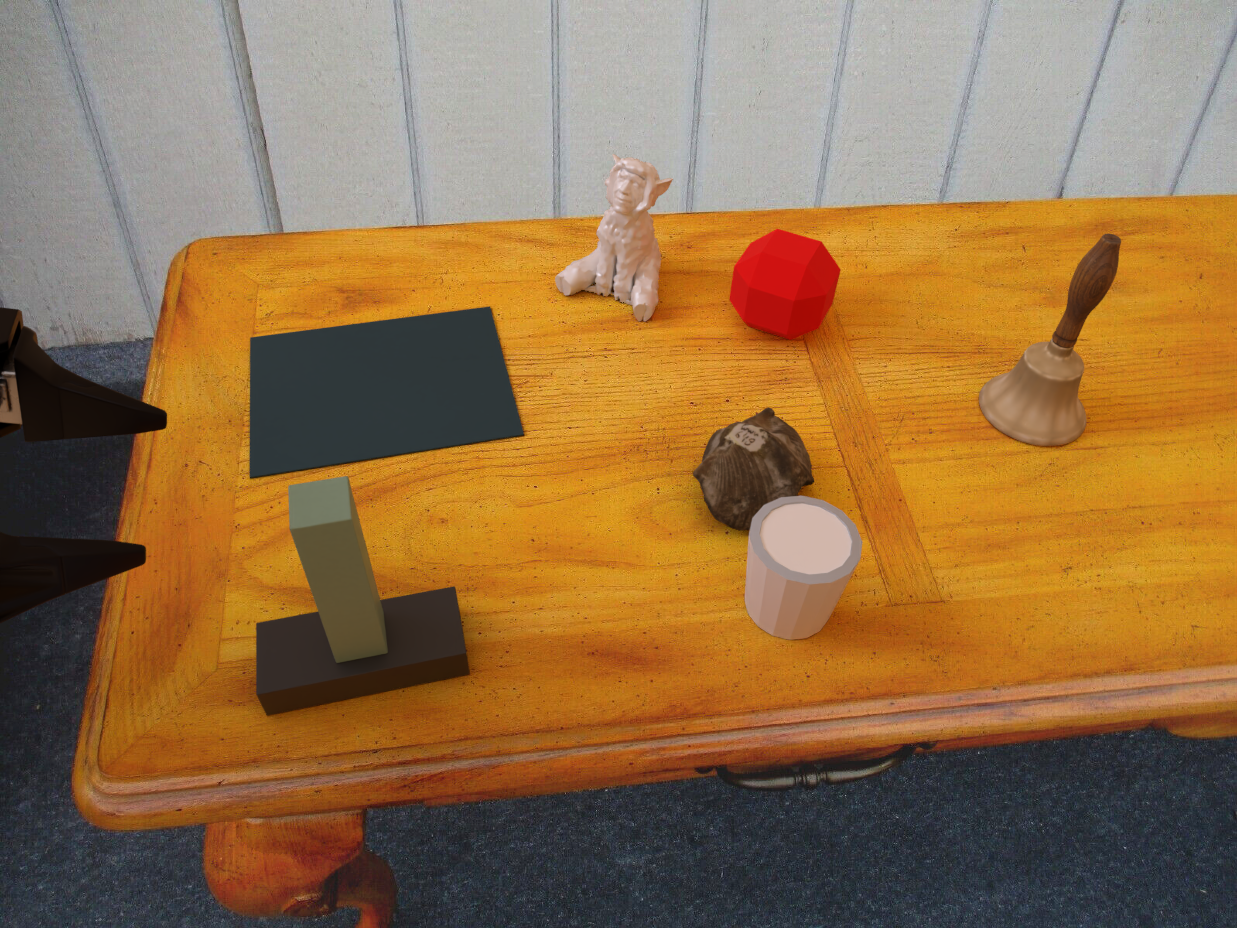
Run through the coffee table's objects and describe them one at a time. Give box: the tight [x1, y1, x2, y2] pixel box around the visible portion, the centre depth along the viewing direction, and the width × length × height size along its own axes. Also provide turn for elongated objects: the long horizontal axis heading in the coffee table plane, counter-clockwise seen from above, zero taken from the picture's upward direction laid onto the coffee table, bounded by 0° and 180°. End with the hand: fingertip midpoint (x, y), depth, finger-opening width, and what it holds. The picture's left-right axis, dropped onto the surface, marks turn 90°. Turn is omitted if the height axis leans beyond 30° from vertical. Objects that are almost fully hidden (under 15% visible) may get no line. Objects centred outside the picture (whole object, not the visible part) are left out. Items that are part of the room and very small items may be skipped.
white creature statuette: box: [554, 153, 674, 323], centre depth 81 cm, size 10×9×12 cm
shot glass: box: [744, 495, 863, 641], centre depth 60 cm, size 7×7×7 cm
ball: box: [728, 228, 842, 341], centre depth 80 cm, size 8×8×8 cm
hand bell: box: [978, 233, 1122, 447], centre depth 70 cm, size 8×8×16 cm
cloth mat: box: [249, 305, 525, 479], centre depth 76 cm, size 20×16×1 cm
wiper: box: [255, 475, 471, 716], centre depth 53 cm, size 12×5×15 cm, turn 104°
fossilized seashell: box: [692, 407, 815, 531], centre depth 68 cm, size 8×7×10 cm
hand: (156, 483), depth 48 cm, fingers open, 9 cm apart
